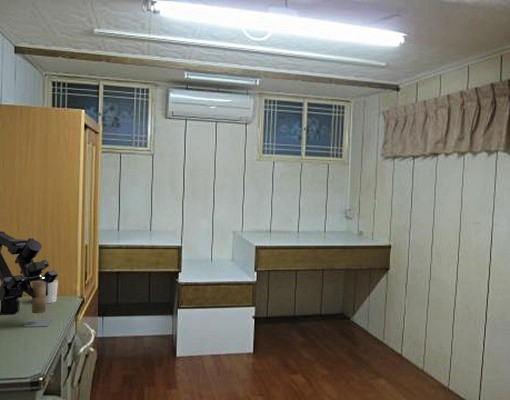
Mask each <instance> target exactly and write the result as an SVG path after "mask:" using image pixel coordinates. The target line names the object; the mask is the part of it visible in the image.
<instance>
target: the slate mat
mask: <svg viewBox="0 0 510 400" xmlns="http://www.w3.org/2000/svg"><path fill="white" fill-rule="evenodd" d="M53 321H54V319H53V318H44V319H43V318H42V319H39V318H38V319H35V318H34V319H28V320H27V322H26V323H25V324H24V325H23V328H47V327H49V326H50V324H51V323H52V322H53Z"/></svg>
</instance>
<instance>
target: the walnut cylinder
mask: <svg viewBox="0 0 510 400" xmlns="http://www.w3.org/2000/svg"><path fill="white" fill-rule="evenodd" d="M31 283H32V285H31V287H32V289H33V291H34V294H35V298H32V297H31V313H32V314H43V313H45V312H46V304H47V303H46V282H45V281H34V282H31Z"/></svg>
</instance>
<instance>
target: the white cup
mask: <svg viewBox="0 0 510 400" xmlns="http://www.w3.org/2000/svg"><path fill="white" fill-rule="evenodd" d="M58 285H59V280H58V279H55V280H54V281H53V282H52V283H48V295H47V296H46V304H52V303H55V302H57V297H58V296H57V295H58V289H59V287H58Z"/></svg>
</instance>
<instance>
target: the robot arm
mask: <svg viewBox="0 0 510 400" xmlns="http://www.w3.org/2000/svg"><path fill="white" fill-rule="evenodd" d="M3 246H4V247H6V248H7V252H8V253H10V255H13V256H14V255H17V256H16V257H15V260H14V264H17V265H18V266H19V269H20V271H19V273H20V274H19V275H13V274H12V272H11V270H10V267H9V266H8V263H7V262H6V260H5V258H4V256H3V254H2V250H3ZM42 247H43V246H42V243H41V242H40V241H38V240H35V238H34V237H31V238H30V237H29V238H28V239H27V240H26V239H19V238H18V239H17V238H14V237H12V236H11V235H8V234H7V233H6V232H5V231H0V282H1V283H0V315H15V314H17V313H18V312H19V311H20V308H21V305H20V303H21V302H20V300H19V299H20V298H23V295H24V293H26V294H27V296H30V297H31V299H32V298H35V294H34V291H33V289H32V285H31V283H33V282H37V281H45V282H46V296H47V295H48V283H52V282H53V281H54V280H56V278H57V277H58V276H59V274H58V272H57V270H49V271H46V272H45V273H44V274H43V275H41V274H42V273H43V271H44V270H45V269H47V268H48V267H49V265H50V264H49V261H48V260H47V259H43V260H41V261H36V262H35V260H34V259H35V258H36V257H37V256H38V254H39V253H40V252H41V249H42Z"/></svg>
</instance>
